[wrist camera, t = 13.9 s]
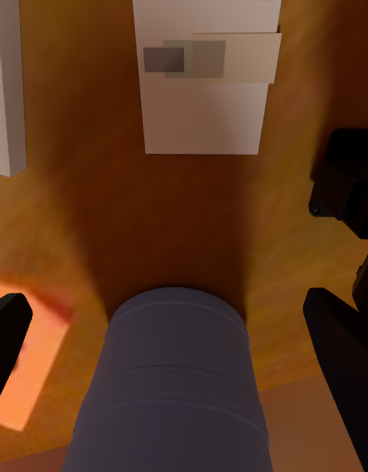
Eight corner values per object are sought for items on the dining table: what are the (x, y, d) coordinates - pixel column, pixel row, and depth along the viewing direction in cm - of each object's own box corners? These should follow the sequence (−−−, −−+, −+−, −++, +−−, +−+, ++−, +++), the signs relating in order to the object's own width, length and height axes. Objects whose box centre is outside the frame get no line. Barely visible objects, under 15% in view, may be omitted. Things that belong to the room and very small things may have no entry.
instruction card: (298, -80, 12) (300, -84, 12) (261, 153, 18) (262, 154, 18) (127, -76, 12) (125, -80, 12) (146, 152, 18) (145, 153, 18)
